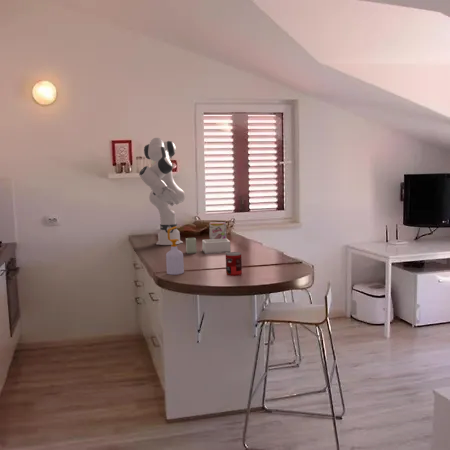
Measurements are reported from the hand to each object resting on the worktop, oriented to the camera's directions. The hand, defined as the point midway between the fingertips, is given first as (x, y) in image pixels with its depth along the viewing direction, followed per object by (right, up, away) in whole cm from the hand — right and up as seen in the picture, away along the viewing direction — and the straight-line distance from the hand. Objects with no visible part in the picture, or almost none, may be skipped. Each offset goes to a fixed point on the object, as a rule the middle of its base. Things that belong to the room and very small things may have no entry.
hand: (175, 204), depth 349 cm
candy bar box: (+27, -28, +25) cm, 46 cm away
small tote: (+10, -30, +5) cm, 32 cm away
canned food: (+36, -38, -65) cm, 84 cm away
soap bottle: (+5, -38, -57) cm, 69 cm away
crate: (+26, -30, +7) cm, 40 cm away
